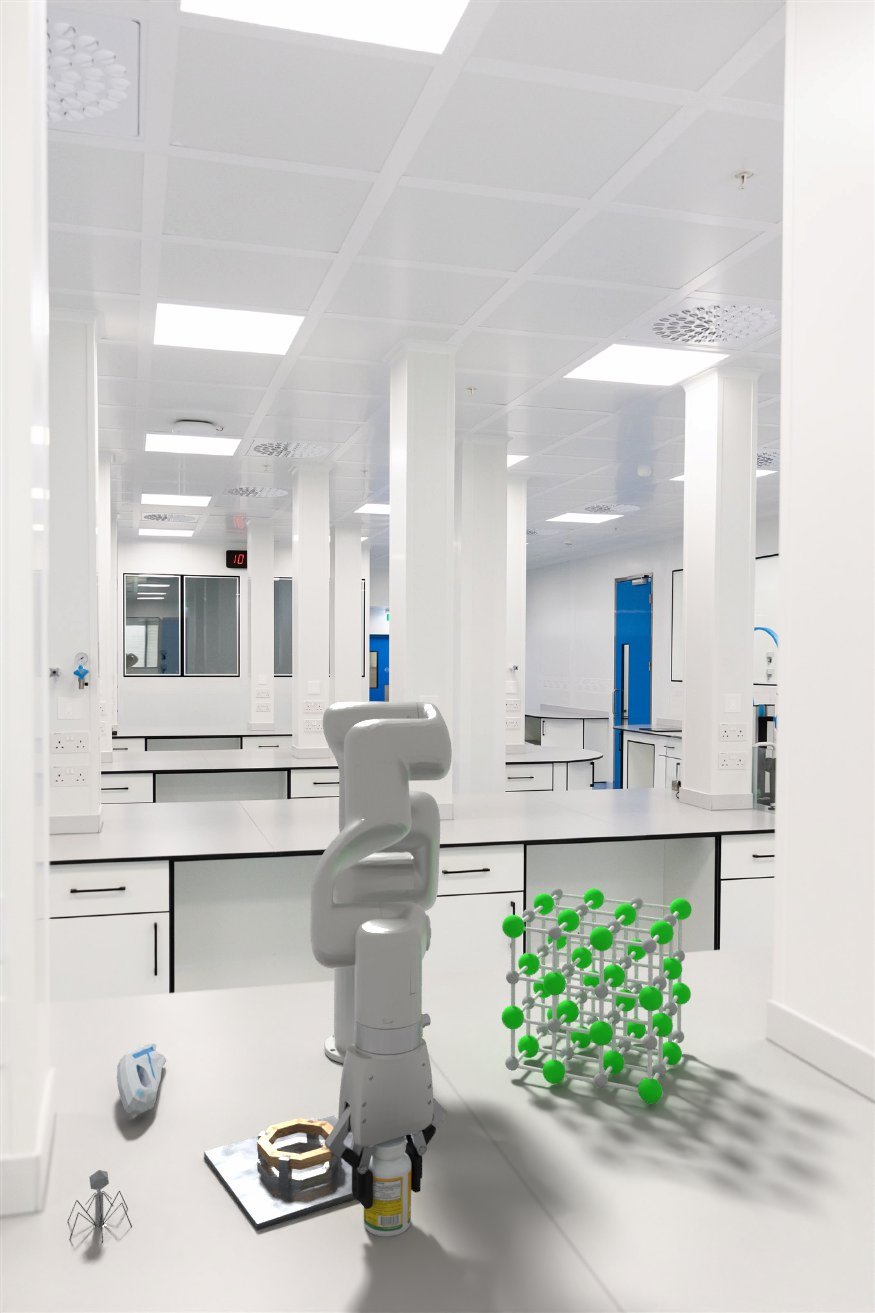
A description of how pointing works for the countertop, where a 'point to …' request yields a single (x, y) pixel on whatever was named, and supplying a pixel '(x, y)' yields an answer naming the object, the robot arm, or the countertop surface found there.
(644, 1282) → the countertop surface
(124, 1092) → the spaceship
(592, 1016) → the molecular structure model
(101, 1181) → the bacteriophage
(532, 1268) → the countertop surface
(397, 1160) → the supplement bottle
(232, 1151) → the collar base
